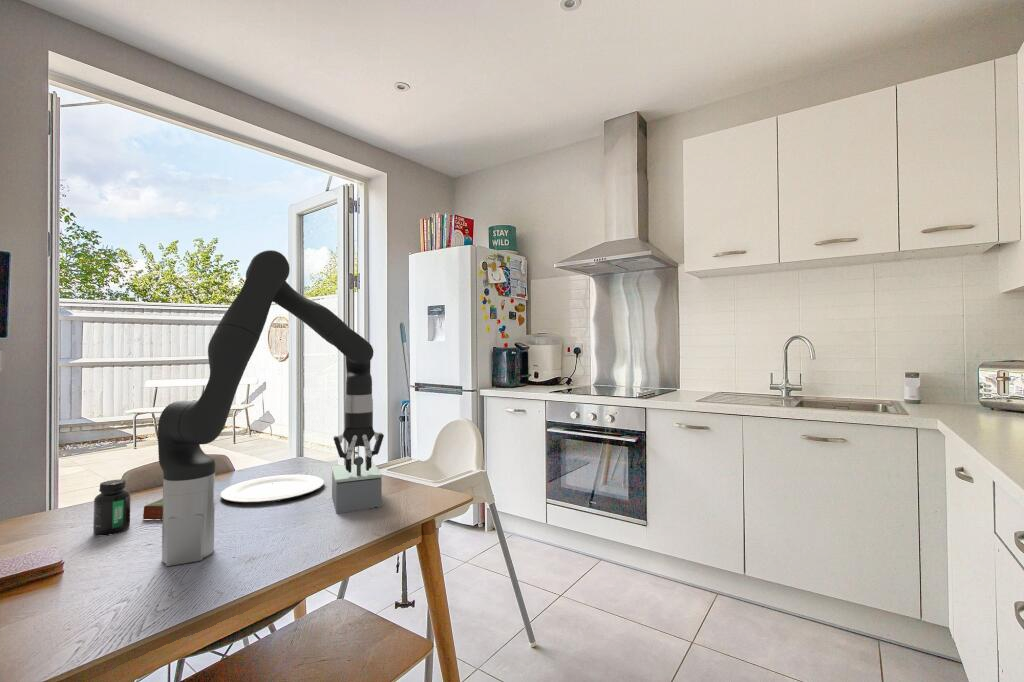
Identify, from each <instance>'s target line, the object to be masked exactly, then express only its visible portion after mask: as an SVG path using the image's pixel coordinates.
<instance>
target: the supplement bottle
mask: <svg viewBox="0 0 1024 682" xmlns="http://www.w3.org/2000/svg"><path fill="white" fill-rule="evenodd" d="M126 484H127V483H126V479H122V478H121V479H112V480H106V481H103V482H100V483H99V490H98V492H100V493H99V494H98V495H97V496H95V497H94V500H93V531H92V533H93V535H94V536H97V535H98V537H100V536H99V535H106V536H110V535H109V534H112V535H116V534H115V533H117V534H119V532H120V533H123V532H125V531H127V530H128V529H129V528H130V526H131V501H132V500H131V492H130V491H128V490H126V488H127V485H126ZM126 529H127V530H126ZM124 530H125V531H124ZM122 531H123V532H122Z"/></svg>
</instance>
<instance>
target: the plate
mask: <svg viewBox="0 0 1024 682" xmlns="http://www.w3.org/2000/svg"><path fill="white" fill-rule="evenodd" d="M272 483H273V484H272ZM324 484H325V480H324V479H323V478H321V477H319V476H317V475H308V474H282V475H272V476H264V477H259V478H253V479H248V480H245V481H241V482H238V483H236V484H232V485H229V486H228V487H226V488H224V489H223V490H222V491H221V492H220V498H221V499H223V500H224V501H227V502H231V503H242V504H249V503H250V504H259V503H260V504H261V502H264V503H272V502H271V501H274V502H278V500H281V501H285V499H286V500H290V499H294V498H298V497H301V496H304V495H308V494H311V493H313V492H315V491H317V490H319V489H320V488H321V487H323V486H324ZM289 498H290V499H289Z"/></svg>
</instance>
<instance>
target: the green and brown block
mask: <svg viewBox="0 0 1024 682" xmlns="http://www.w3.org/2000/svg"><path fill="white" fill-rule="evenodd" d="M143 519H163V498H161V499H158V500H156V501H154V502H151V503H148V504H146V505H144V507H143V514H142V520H143Z"/></svg>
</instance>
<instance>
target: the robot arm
mask: <svg viewBox="0 0 1024 682" xmlns="http://www.w3.org/2000/svg"><path fill="white" fill-rule="evenodd" d="M289 276H290V264H289V262H288V259H287V257H286V256H285V255H284V254H283V253H281V252H280V251H277V250H274V249H267V250H263V251H260V252H258V253H257V254H255V255H254V256H253V258H252V259H251V261H250V262H249V265H248V267H247V269H246V271H245V280H244V283H243V286H242V288H241V289H240V291H239V293H238V294H237V296H236V297H235V299H234V300H233V301H232V303H231V304H230V305H229V307H228V309H227V310H226V311H225V313H224V315H223V316H222V318H221V320H220V322H219V323H218V324H217V326H216V328H215V330H214V333H213V335H212V336H211V338H210V340H209V342H208V346H207V355H208V357H207V358H208V359H207V360H208V364H209V377H208V381H207V384H206V385H205V387H204V390H203V392H202V394H201V396H200V397H199V399H198V400H177V401H174V402H172V403H171V402H170V404H168V405H167V406H165V408H163V410H162V412H161V413H160V416H159V419H158V424H157V445H158V446H157V447H158V449H157V451H158V452H157V453H158V464H159V466H160V467H161V470H162V474H163V481H162V483H163V484H162V485H163V486H162V499H163V520H161V522H162V527H161V528H162V530H161V533H162V534H161V562H162V563H163V564H165V566H166V567H172V566H175V565H176V566H177V565H182V564H188V563H189V564H190V563H194V562H201V561H202V560H203V559H204V558H207V557H209V555H211V554H213V553H214V551H215V505H216V504H215V499H216V498H215V497H216V496H215V495H216V494H215V493H216V492H215V490H216V488H215V487H216V461H215V459H214V458H213V457H211V456H209V455H208V454H207V453H205V452H204V451H203V450H202V448H201V445H207V444H208V445H209V444H210V443H212V442H214V441H215V440H216V439H217V438H218V437H219V435H221V433H222V431H223V430H224V429H225V426H226V422H227V420H228V418H229V414H230V411H231V408H232V406H233V402H234V399H235V395H236V392H237V390H238V386H239V385H240V382H241V380H242V378H243V376H244V373H245V371H246V368H247V366H248V363H249V362H250V359H252V358H251V357H252V355H253V353H254V352H255V349H256V347H257V344H258V343H259V341H260V338H261V335H262V333H263V330H264V328H265V325H266V322H267V318H268V316H269V312H270V310H271V306H272V303H275V304H276V305H278V306H279V307H280V308H283V309H284V310H286V311H287V312H288V313H290V314H291V315H293V316H294V317H296V318H298V319H299V320H300V321H302V322H303V323H304V324H305V325H307V326H308V327H309V328H310V329H312V331H314V332H315V333H316V334H317V335H318V336H320V337H321V339H323V340H325V341H326V342H327V343H329V344H330V345H331V346H334V347H335V348H336V349H337V350H338V351H339V352H340V353H341V354H343V355H344V356H345V368H346V369H345V370H346V381H345V382H346V384H345V386H346V387H345V394H346V395H345V403H344V431H343V432H342V434H340V435H334V436H333V439H332V440H333V442H334V445H335V449H336V450H337V453H338V456H339V458H341V459H342V458H343V459H345V464H344V465H345V468H346V470H347V471H348V472H349V473H350V472H351V465H352V454H353V451H354V450H355V448H358V447H363V449H364V450H365V454H366V456H365V463H366V471H369V468H371V467H372V462H373V460H372V458H373V457H374V456H375V455H378V454H379V452H380V449H381V446H382V443H383V441H384V440H383V439H384V438H385V437H384V436H385V435H384V434H383V433H382V432H376V431H375V430H374V426H373V425H374V421H373V420H374V417H373V416H374V399H373V377H372V374H371V361H372V359H373V357H374V347H373V346H372V344H370V342H368V341H367V340H366V339H365V338H364V337H363V336H361V335H360V334H359V333H357V332H356V331H355V330H353V329H351V328H350V327H349V325H347V323H346V322H345V321H343V320H342V319H341V318H340V317H339V316H338V315H336V314H335V313H334V312H333V311H332V310H330V309H328V308H327V307H326V306H324V305H322V304H320V303H318V302H316V301H313V300H311V299H310V298H307V297H305V296H304V295H302V294H300V293H299V292H298V291H297V290H295V289H294V288H293V287H292V286H291V285H290V284H289V283H288V282H287V279H289V278H288V277H289ZM373 437H374V439H375V443H374V446H373V449H371V447H370V441H372V438H373ZM343 439H345V441H346V442H347V443H348V445H347V448H346V452H344V451H343V448H342V445H341V444H342V443H343Z"/></svg>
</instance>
